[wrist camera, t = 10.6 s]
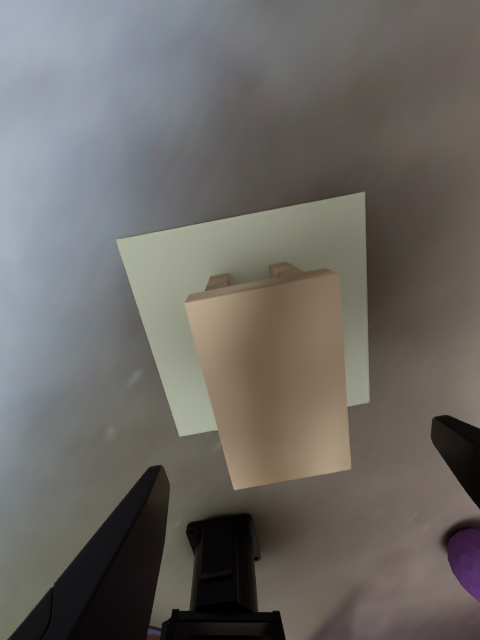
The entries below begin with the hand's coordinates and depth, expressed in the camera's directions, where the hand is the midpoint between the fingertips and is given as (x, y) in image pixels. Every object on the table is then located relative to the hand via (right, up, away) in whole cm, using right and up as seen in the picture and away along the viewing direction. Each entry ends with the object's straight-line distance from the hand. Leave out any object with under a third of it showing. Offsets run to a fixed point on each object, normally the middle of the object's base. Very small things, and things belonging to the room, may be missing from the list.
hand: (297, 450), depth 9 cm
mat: (-1, +4, +11) cm, 12 cm away
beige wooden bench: (-1, +3, +11) cm, 11 cm away
